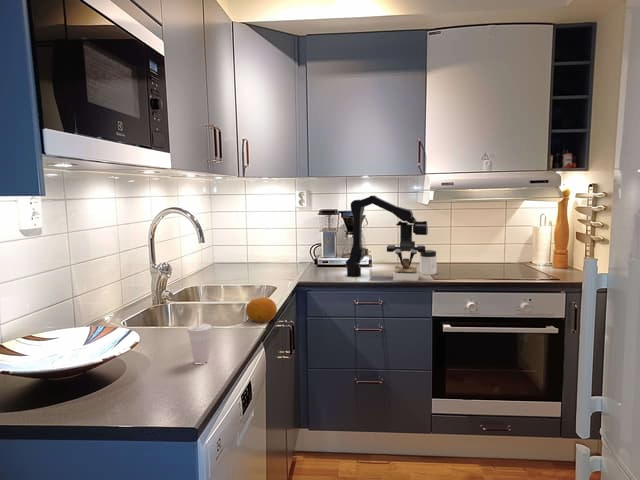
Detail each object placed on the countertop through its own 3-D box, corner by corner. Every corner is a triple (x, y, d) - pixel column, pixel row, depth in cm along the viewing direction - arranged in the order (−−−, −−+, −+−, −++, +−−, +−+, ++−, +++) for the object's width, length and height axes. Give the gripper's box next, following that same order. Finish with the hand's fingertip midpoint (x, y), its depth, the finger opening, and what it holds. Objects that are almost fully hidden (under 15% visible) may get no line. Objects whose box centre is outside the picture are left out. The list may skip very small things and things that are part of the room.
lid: (394, 271, 222) (394, 260, 222) (395, 267, 233) (395, 257, 232) (416, 272, 220) (416, 260, 219) (416, 268, 230) (416, 257, 230)
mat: (369, 280, 224) (369, 280, 224) (371, 276, 235) (371, 275, 235) (392, 281, 222) (392, 280, 222) (393, 277, 233) (393, 276, 233)
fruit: (265, 314, 167) (265, 293, 166) (282, 320, 159) (281, 298, 158) (240, 320, 161) (240, 298, 160) (256, 327, 152) (256, 303, 152)
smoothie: (183, 364, 120) (181, 313, 119) (198, 356, 126) (196, 307, 125) (204, 367, 118) (201, 315, 116) (218, 359, 124) (215, 309, 122)
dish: (393, 281, 222) (393, 273, 222) (394, 276, 234) (394, 268, 234) (418, 282, 220) (418, 273, 219) (418, 277, 231) (418, 269, 231)
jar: (427, 275, 235) (428, 252, 234) (416, 273, 242) (416, 251, 241) (439, 273, 240) (439, 251, 239) (428, 271, 247) (428, 249, 245)
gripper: (386, 236, 218) (385, 268, 220) (425, 236, 215) (425, 269, 216) (387, 233, 229) (387, 264, 231) (425, 234, 225) (425, 265, 227)
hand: (405, 265), depth 226 cm, fingers closed on lid, 3 cm apart
